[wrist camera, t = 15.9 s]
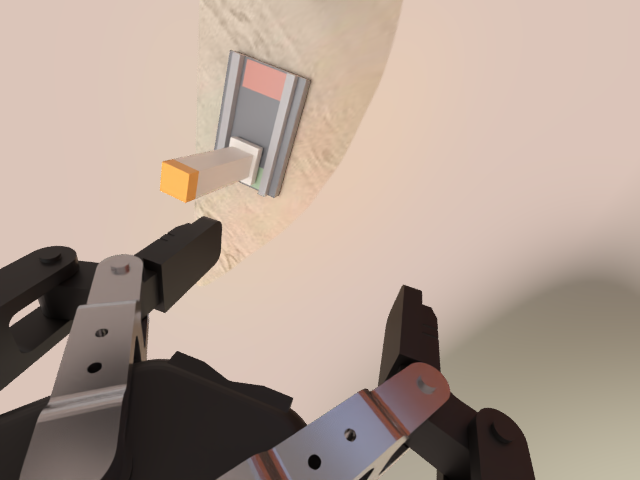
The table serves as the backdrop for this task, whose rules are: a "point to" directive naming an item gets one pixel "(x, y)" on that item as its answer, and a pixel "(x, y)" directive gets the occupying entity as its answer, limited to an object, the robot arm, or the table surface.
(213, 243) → the robot arm
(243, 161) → the switch handle
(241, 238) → the table surface
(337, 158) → the table surface
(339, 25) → the table surface
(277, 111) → the switch panel
